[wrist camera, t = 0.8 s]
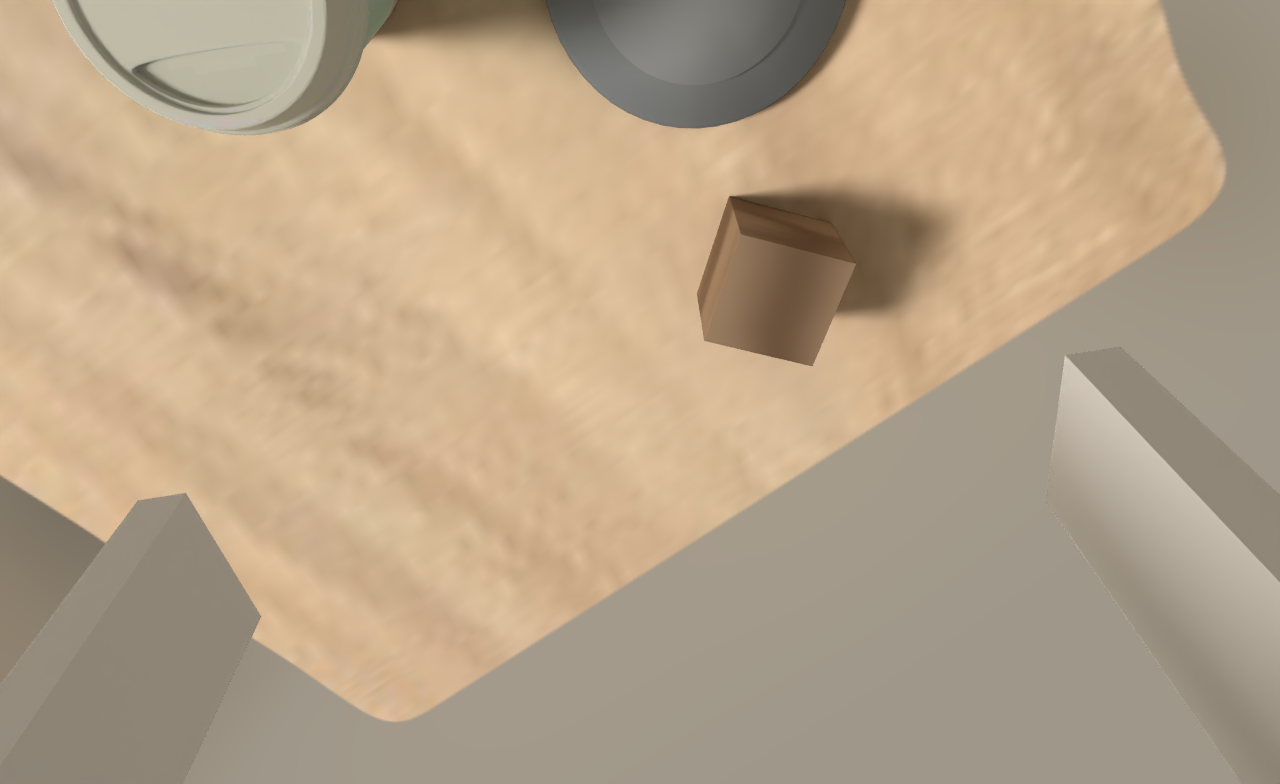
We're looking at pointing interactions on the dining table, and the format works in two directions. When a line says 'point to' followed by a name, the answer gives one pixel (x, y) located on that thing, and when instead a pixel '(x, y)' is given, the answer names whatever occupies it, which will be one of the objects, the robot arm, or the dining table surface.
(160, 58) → the coffee cup
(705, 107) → the saucer
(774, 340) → the walnut block
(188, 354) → the dining table surface
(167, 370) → the dining table surface
